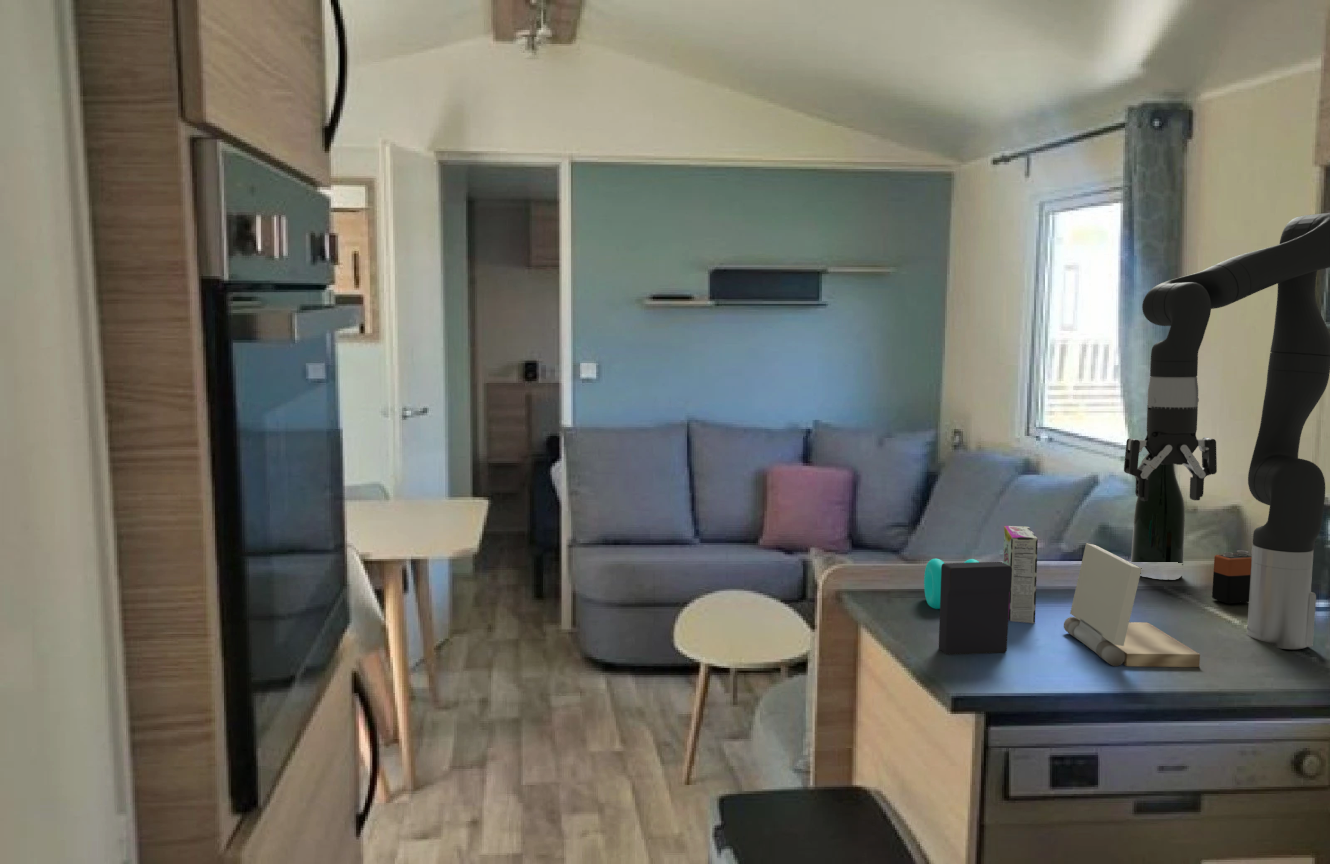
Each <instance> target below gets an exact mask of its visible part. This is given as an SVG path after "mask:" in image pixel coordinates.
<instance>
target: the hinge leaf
mask: <svg viewBox="0 0 1330 864" xmlns="http://www.w3.org/2000/svg"><path fill="white" fill-rule="evenodd" d="M1082 555H1083V556H1082V560H1081V565H1080V569H1079V573H1078V578H1077V581H1076V582H1077V583H1076V586H1075V590H1074V595H1073V599H1072V602H1071V603H1072V604H1071V608H1070V612H1069V614H1070V615H1071V616H1072V617H1075V618H1077V619H1079V620H1080V624H1079V625H1078V626H1076V627H1075V629H1074V636H1075V637H1076V638H1077V639H1076V638H1075V637H1074V638H1075V639H1076V640H1078V641H1079V642H1081V643H1082V644H1083V645H1085V646H1086V647H1087V648H1089V649H1090V650H1091V651H1093V652H1094V653H1095V654H1097V652H1096V648H1097V645H1098V644H1099V643H1100V642H1102V641H1110V642H1111V643H1113V644H1114V645H1120V646H1124V642H1125V638H1126V633H1127V629H1128V625H1129V622H1131V621H1130V620H1131V615H1132V612H1133V607H1134V603H1135V600H1136V599H1135V598H1136V594H1137V590H1138V587H1139V581H1140V578H1141V577H1140V574H1141V569H1142V568H1140V567H1138V566H1136V565H1134V564H1132V563H1131V561H1128V560H1127V559H1123V558H1122V557H1120V556H1118V555H1116V554H1115V553H1112V552H1110V551H1108V550H1106V549H1104V548H1102V547H1100V546H1098V545H1095V544H1093V543H1087V542H1086V543H1085V547H1084V551H1083V554H1082Z"/></svg>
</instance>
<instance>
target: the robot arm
mask: <svg viewBox="0 0 1330 864" xmlns="http://www.w3.org/2000/svg"><path fill="white" fill-rule="evenodd" d="M1279 239H1280V240H1279V244H1276V245H1271V246H1268V247H1265V248H1261V249H1257V250H1256V249H1255V250H1253V251H1249V252H1245V253H1242V254H1239V255H1236V256H1233V257H1229V258H1228V259H1226V260H1222V261H1221V262H1218V263H1216V264H1214V265H1211V266H1209V267H1207V268H1205V269H1204V270H1201V271H1198V272H1195V273H1192V274H1188V275H1184V276H1183V275H1182V276H1180V277H1177V278H1173V279H1169V280H1166V281H1163V282H1161V283H1159V284H1157V285H1155V286H1154V287H1152V288H1151V289H1150V290H1149V291H1148V292H1147V293H1146V295H1145V296H1144V298H1143V301H1142V305H1141V308H1142V313H1143V315H1144V317H1145V318H1146V319H1147V321H1149V322H1150V323H1151V324H1154V325H1156V326H1160V327H1170V328H1169V330H1168V334H1167V336H1166V338H1165V339H1163V340H1161V341H1158V342H1156V343H1154V345H1152V347H1151V353H1150V369H1149V370H1150V371H1149V372H1150V373H1149V383H1148V389H1147V407H1146V408H1147V409H1146V412H1147V413H1146V436H1145V439H1136V438H1130V437H1129V438H1127V439H1126V441H1125V442H1126V443H1125V444H1126V445H1125V454H1124V455H1125V456H1124V465H1123V472H1124V473H1125V474H1127V475H1128V474H1129V475H1131V476H1133V477H1134V478H1135V497H1137V498H1139V500H1142V501H1148V493H1149V479H1147V477H1148V476H1149V475H1150V473H1151V472H1152V471H1153V470H1154V469H1156V468H1157V467H1158V465H1159V464H1162V465H1169V464H1174V465H1177V466H1181V465H1182V466H1184V467H1185V468H1186V469H1187V470H1188V472H1189V473H1190V475H1192V476H1190V477H1189V478H1190V479H1189V480H1190V481H1189V499H1190V500H1192V501H1200V500H1201V498H1203V496H1204V483H1205V478H1206V477H1207V476H1210V475H1216V473H1217V472H1218V471H1217V470H1218V469H1217V467H1218V466H1217V465H1218V462H1217V441H1216V439H1215V438H1210V437H1203V438H1201V439H1198V438H1197V430H1198V414H1199V413H1198V408H1199V401H1200V400H1199V384H1198V383H1199V382H1198V370H1199V369H1198V366H1199V364H1198V363H1199V352H1200V349H1201V348H1200V347H1201V345H1202V342H1203V339H1204V336H1205V333H1206V330H1207V328H1208V324H1209V321H1210V316H1211V311H1212V310H1214V309H1221V308H1223V307H1226V306H1228V305H1231V304H1234V303H1235V302H1238V301H1240V300H1242V299H1244V298H1248V297H1249V296H1251V295H1254V294H1256V293H1258V292H1260V291H1263V290H1265V289H1268V288H1270V287H1273V286H1275V285H1277V293H1276V294H1277V296H1276V297H1277V298H1276V306H1275V307H1276V308H1275V315H1274V317H1275V318H1274V327H1273V334H1272V340H1271V344H1270V345H1271V346H1270V352H1269V359H1268V367H1267V372H1266V373H1267V374H1266V385H1265V391H1264V393H1265V394H1264V397H1263V398H1264V399H1263V404H1262V410H1261V411H1262V412H1261V420H1260V425H1259V428H1258V429H1259V430H1258V434H1257V438H1256V442H1255V446H1254V448H1253V449H1254V450H1253V453H1252V457H1251V460H1250V464H1249V468H1248V472H1247V473H1248V474H1247V484H1248V489H1249V492H1250V494H1251V495H1252V497H1253V498H1254V499H1255V500H1256V501H1258V502H1259V503H1261V504H1264V505H1266V506H1269V510H1268V518H1267V521H1266V523H1265V524H1264V525H1261V526H1258V527H1256V528H1254V531H1253V534H1252V544H1251V545H1252V547H1251V548H1252V549H1251V556H1252V561H1251V577H1250V592H1249V602H1248V610H1247V611H1248V612H1247V623H1246V625H1247V626H1246V634H1247V636H1248V637H1250V638H1252V639H1255V640H1258V641H1262V642H1265V643H1267V644H1270V645H1271V646H1274V647H1275V648H1277V649H1283V650H1301V649H1305V648H1308V647H1309V648H1311V647H1312V648H1313V645H1314V630H1315V619H1316V618H1315V615H1316V603H1317V595H1316V593H1315V592H1312V580H1313V579H1312V577H1313V564H1314V563H1313V562H1314V549H1315V542H1316V540H1317V538H1318V536H1319V534H1320V532H1321V528H1322V523H1323V522H1322V521H1323V515H1324V507H1325V499H1326V498H1325V497H1326V480H1325V476H1324V473H1323V471H1322V470H1321V468H1320V467H1319V466H1318V465H1317V464H1315V462H1312V461H1310V460H1307V459H1303V458H1299V451H1300V450H1299V449H1300V442H1301V436H1302V431H1303V429H1304V426H1305V424H1306V422H1307V420H1308V419H1309V416H1310V415H1311V414H1312V412H1313V411H1314V409H1315V407H1316V406H1317V404H1318V403H1319V401H1320V399H1321V398H1322V396H1323V394H1324V393H1325V390H1326V389H1327V386H1328V383H1329V379H1330V331H1329V329H1328V326H1327V325H1326V322H1325V320H1324V318H1323V316H1322V314H1321V312H1320V309H1319V307H1318V303H1317V298H1316V285H1317V273H1318V271H1321V270H1324V269H1329V268H1330V212H1324V213H1323V212H1322V213H1317V214H1316V213H1315V214H1306V215H1301V216H1296V217H1294V218H1292V219H1291V220H1290V221H1289V222H1287V224H1286V225H1285V227H1284V228H1283V230H1282V231H1281V235H1280V238H1279ZM1143 448H1145V449H1146V451H1147V454H1146V455H1145V456H1144V457H1143V459H1142V460H1141V463H1140V465H1139V459H1140V458H1139V456H1140V453H1141V452H1142V451H1143ZM1197 448H1198V449H1199V451H1201V463H1202V464H1201V465H1200V462H1199V460H1198V459H1197V457H1195V456H1194V452H1195V451H1196V449H1197Z"/></svg>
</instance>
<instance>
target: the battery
mask: <svg viewBox="0 0 1330 864" xmlns="http://www.w3.org/2000/svg"><path fill="white" fill-rule="evenodd" d="M1249 554H1250V553H1249V551H1247V550H1236V553H1233V552H1228V551H1224V554H1216V555H1215V554H1214V557H1213V559H1214V560H1213V574H1212V591H1211V593H1212V595H1211V598H1212V599H1213V600H1216V601H1219V602H1222V603H1224V604H1238V603H1239V604H1240V603H1241V604H1242V603H1249V592H1250V577H1251V561H1252V555H1249Z"/></svg>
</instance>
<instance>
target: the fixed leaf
mask: <svg viewBox="0 0 1330 864" xmlns="http://www.w3.org/2000/svg"><path fill="white" fill-rule="evenodd" d="M1079 624H1080V620H1079V619H1077V618H1076V617H1074V616H1070V617H1069V616H1068V617H1066V619H1065V620H1064V622H1063V629H1064V630H1065V631H1066V632H1067V633H1068V634H1069V635H1070V636H1072V637H1073V638H1074V639H1076V640H1078V639H1077V638H1076V637H1075V636H1074V629H1075V627H1076V626H1078V625H1079ZM1096 652H1097V653H1096V655H1097V656H1099V658H1101V659H1102V660H1103V661H1105V662H1106V663H1107V664H1109V665H1111V666H1113V667H1119V666H1121V665H1122V664H1123V665H1124V666H1125V667H1156V668H1157V667H1159V668H1160V667H1161V668H1166V667H1167V668H1169V667H1170V668H1177V667H1179V668H1200V662H1201V653H1199V652H1197V651H1195V650H1194V649H1192V648H1190V647H1189V646H1188V645H1186V644H1184V643H1183V642H1180V641H1179V640H1177V639H1176V638H1174V637H1173V636H1170V635H1169V634H1167V633H1166V632H1164V631H1163V630H1161V629H1159V628H1158V627H1156V626H1154V625H1152V624H1151V623H1149V622H1140V621H1137V622H1134V621H1129V625H1128V629H1127V633H1126V638H1125V642H1124V646H1120V645H1114V644H1113V643H1111V642H1110V641H1102V642H1100V643H1099V644H1098V645H1097V648H1096Z"/></svg>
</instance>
